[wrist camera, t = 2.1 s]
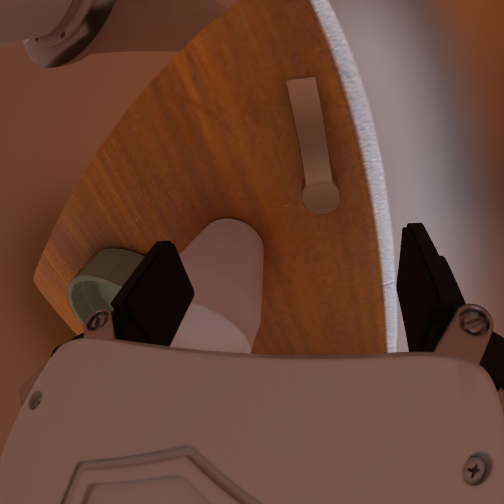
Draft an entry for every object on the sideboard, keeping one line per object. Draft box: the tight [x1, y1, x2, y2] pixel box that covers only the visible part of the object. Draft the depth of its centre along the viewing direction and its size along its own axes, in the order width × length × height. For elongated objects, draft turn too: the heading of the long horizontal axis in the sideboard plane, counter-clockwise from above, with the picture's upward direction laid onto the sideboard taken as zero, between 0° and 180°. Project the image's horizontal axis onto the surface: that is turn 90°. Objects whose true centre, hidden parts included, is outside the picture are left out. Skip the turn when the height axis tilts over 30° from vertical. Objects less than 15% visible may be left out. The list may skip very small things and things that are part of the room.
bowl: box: [67, 248, 145, 326], centre depth 36 cm, size 18×18×6 cm
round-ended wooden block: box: [286, 77, 341, 215], centre depth 20 cm, size 10×3×3 cm, turn 13°
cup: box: [170, 219, 264, 353], centre depth 24 cm, size 9×9×12 cm
